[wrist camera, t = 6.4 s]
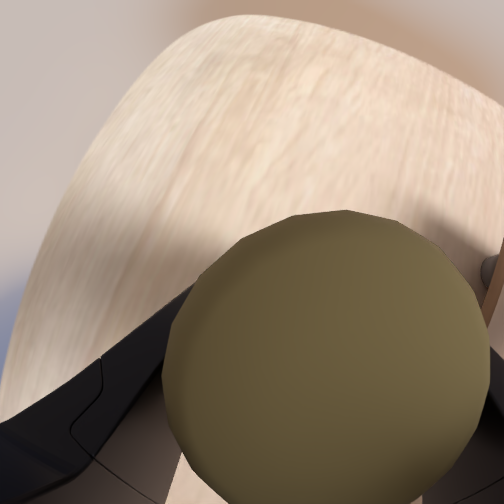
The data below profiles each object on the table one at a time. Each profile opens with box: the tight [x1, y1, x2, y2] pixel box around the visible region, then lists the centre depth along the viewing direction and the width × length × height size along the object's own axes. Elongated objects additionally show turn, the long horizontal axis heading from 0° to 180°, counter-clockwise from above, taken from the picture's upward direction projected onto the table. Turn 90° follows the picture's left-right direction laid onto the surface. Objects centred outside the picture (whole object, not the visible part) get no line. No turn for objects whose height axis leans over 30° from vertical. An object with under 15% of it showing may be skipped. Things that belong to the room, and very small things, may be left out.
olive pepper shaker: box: [161, 210, 490, 504], centre depth 8 cm, size 6×6×11 cm
